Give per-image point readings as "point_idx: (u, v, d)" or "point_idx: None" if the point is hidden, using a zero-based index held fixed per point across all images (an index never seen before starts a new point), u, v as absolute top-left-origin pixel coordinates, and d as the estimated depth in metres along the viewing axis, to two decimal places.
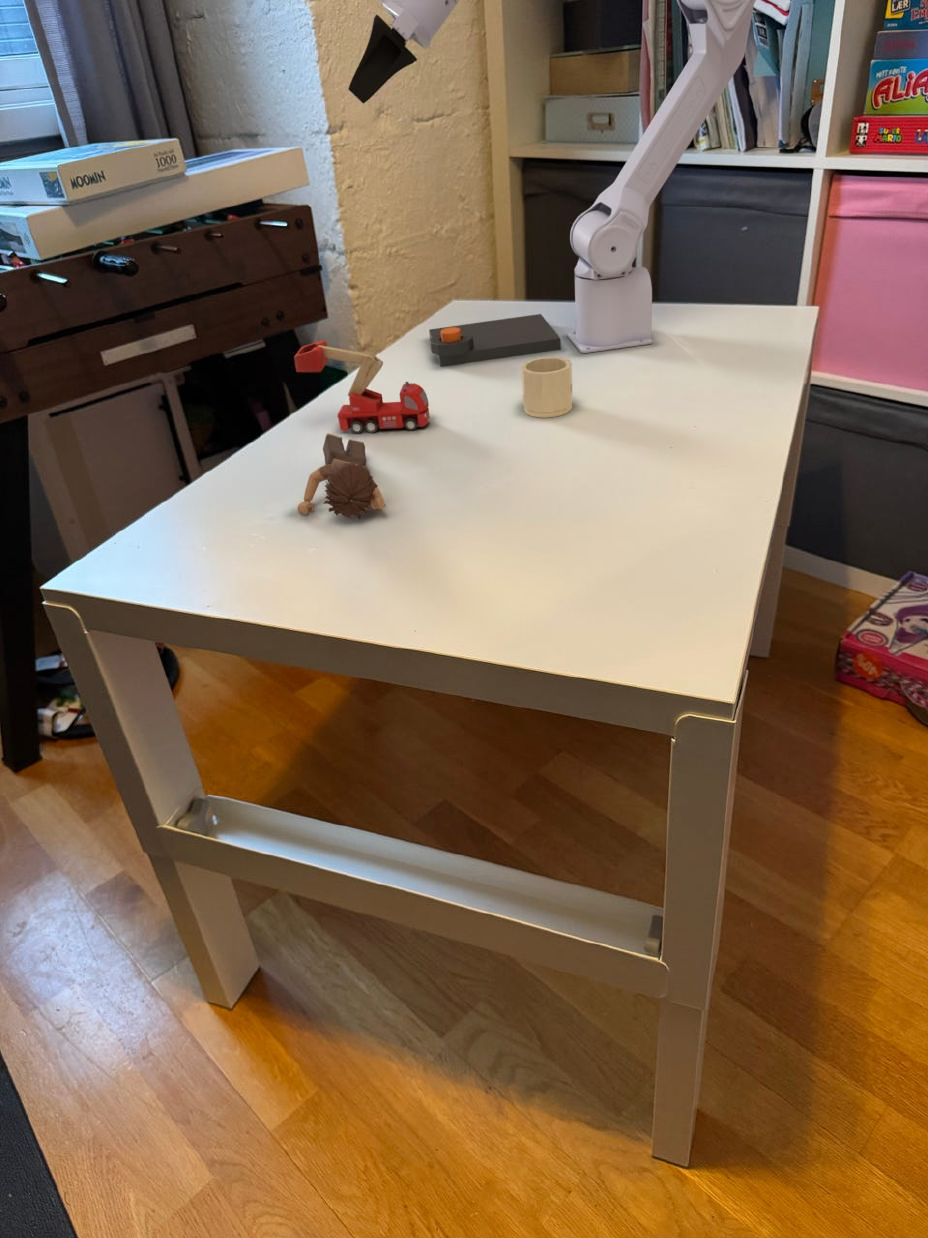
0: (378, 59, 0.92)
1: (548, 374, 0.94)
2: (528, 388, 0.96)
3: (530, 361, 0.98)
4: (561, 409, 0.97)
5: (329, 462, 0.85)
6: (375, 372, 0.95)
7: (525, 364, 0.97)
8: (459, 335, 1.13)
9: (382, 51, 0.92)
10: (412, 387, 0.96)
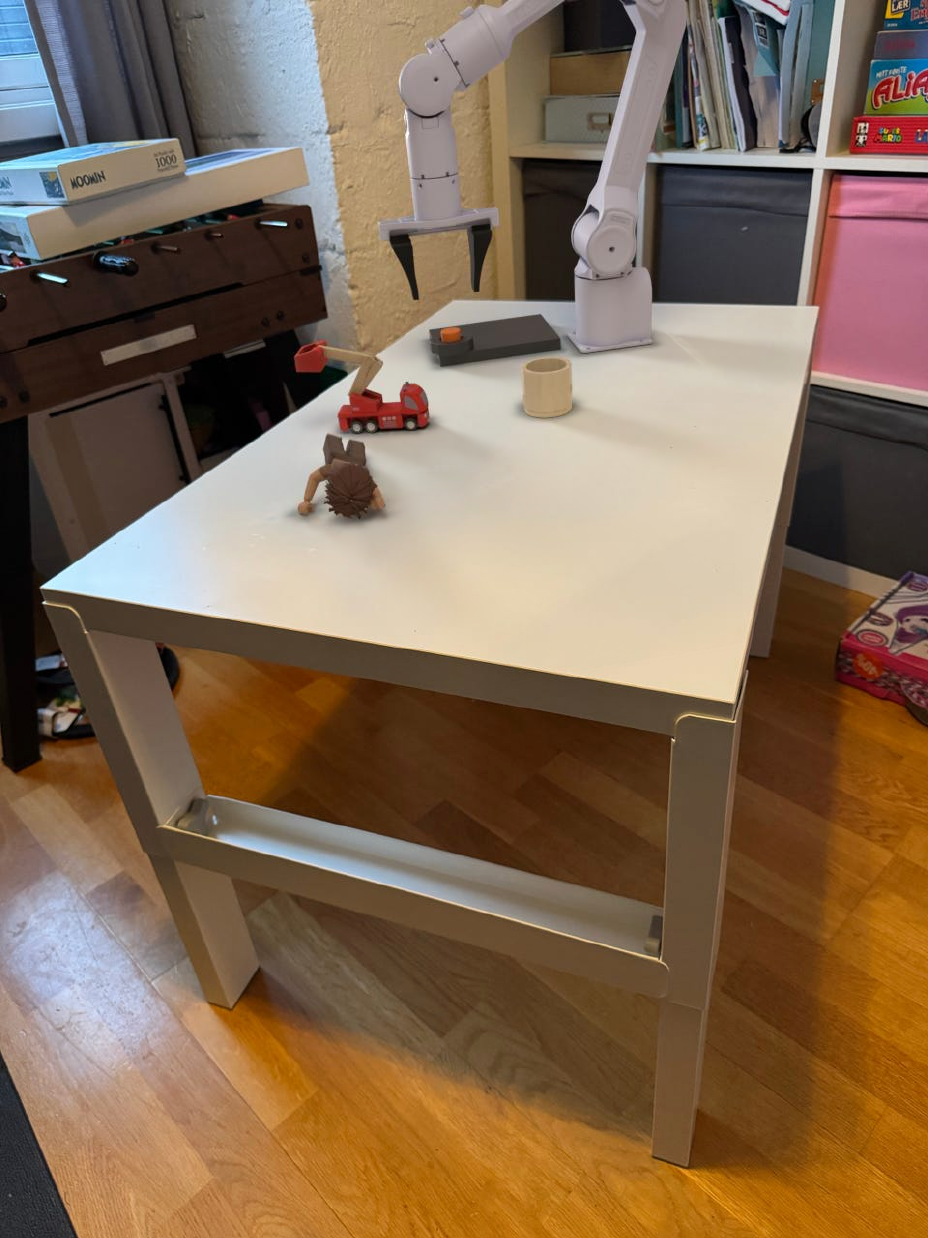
0: None
1: (548, 374, 0.94)
2: (528, 388, 0.96)
3: (530, 361, 0.98)
4: (561, 409, 0.97)
5: (329, 462, 0.85)
6: (375, 372, 0.95)
7: (525, 364, 0.97)
8: (459, 335, 1.13)
9: None
10: (412, 387, 0.96)
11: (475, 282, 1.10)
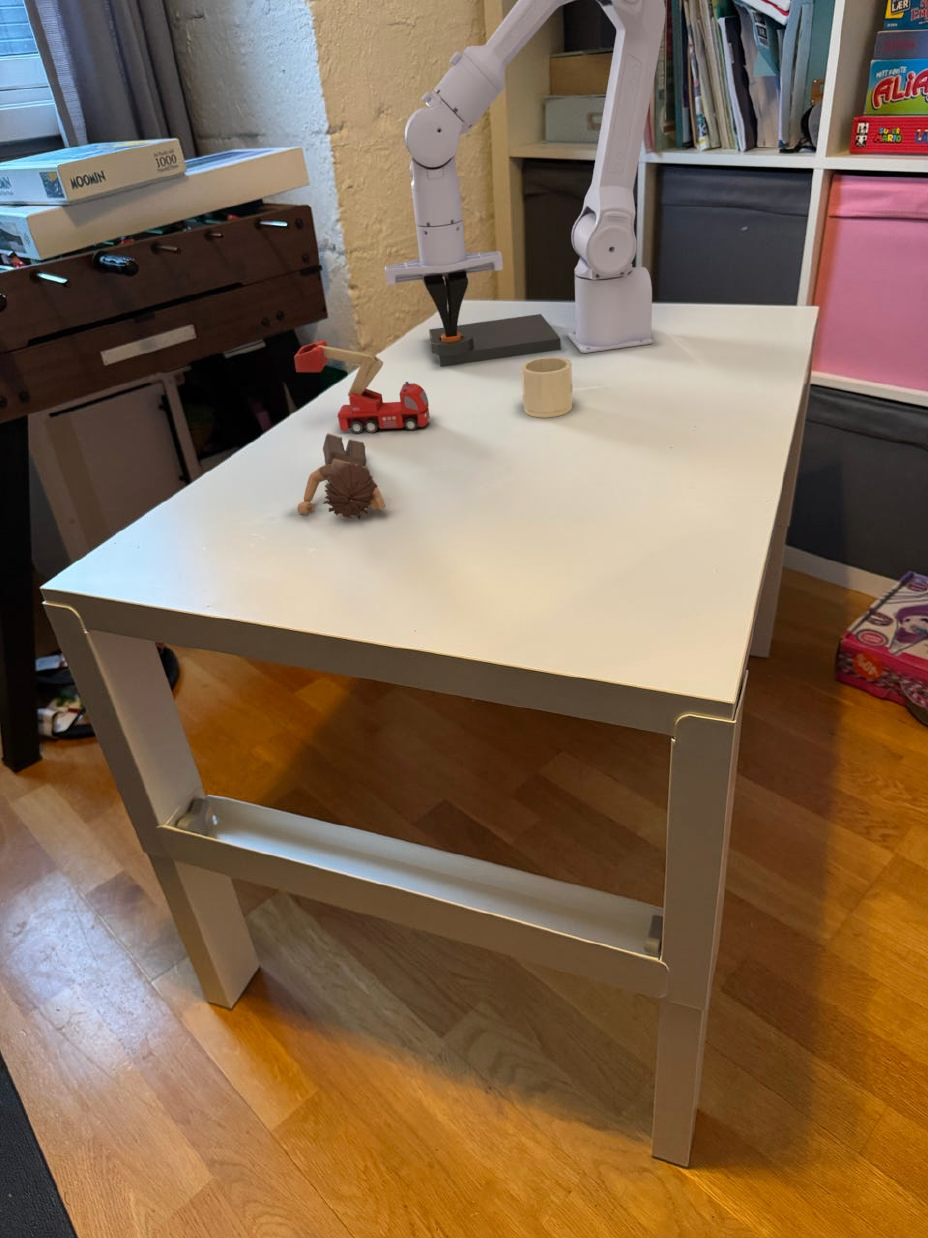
0: None
1: (548, 374, 0.94)
2: (528, 388, 0.96)
3: (530, 361, 0.98)
4: (561, 409, 0.97)
5: (329, 462, 0.85)
6: (375, 372, 0.95)
7: (525, 364, 0.97)
8: (459, 339, 1.14)
9: None
10: (412, 387, 0.96)
11: (452, 327, 1.12)
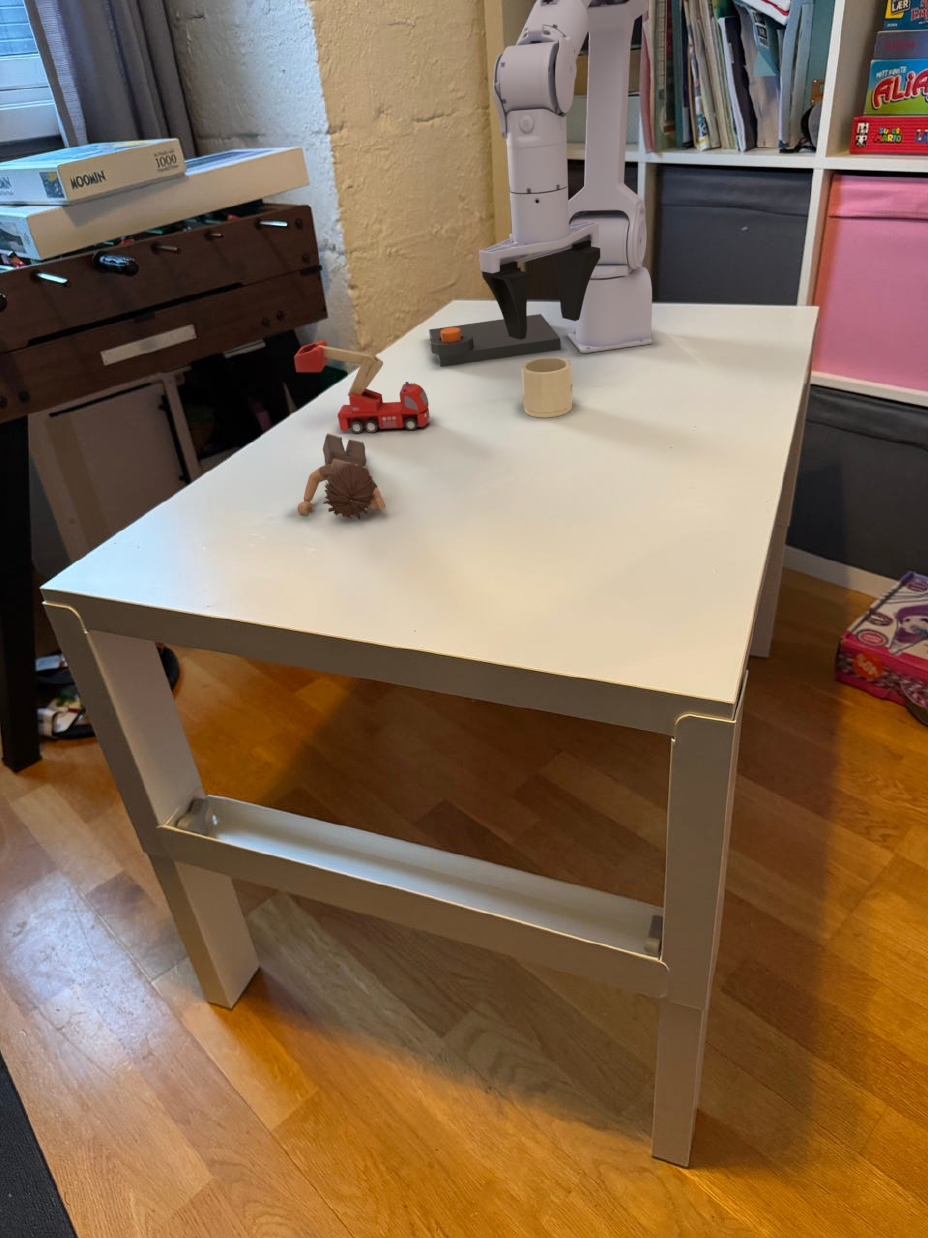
0: (509, 296, 0.90)
1: (548, 374, 0.94)
2: (528, 388, 0.96)
3: (530, 361, 0.98)
4: (561, 409, 0.97)
5: (329, 462, 0.85)
6: (375, 372, 0.95)
7: (525, 364, 0.97)
8: (459, 335, 1.13)
9: (508, 288, 0.89)
10: (412, 387, 0.96)
11: (578, 309, 0.94)
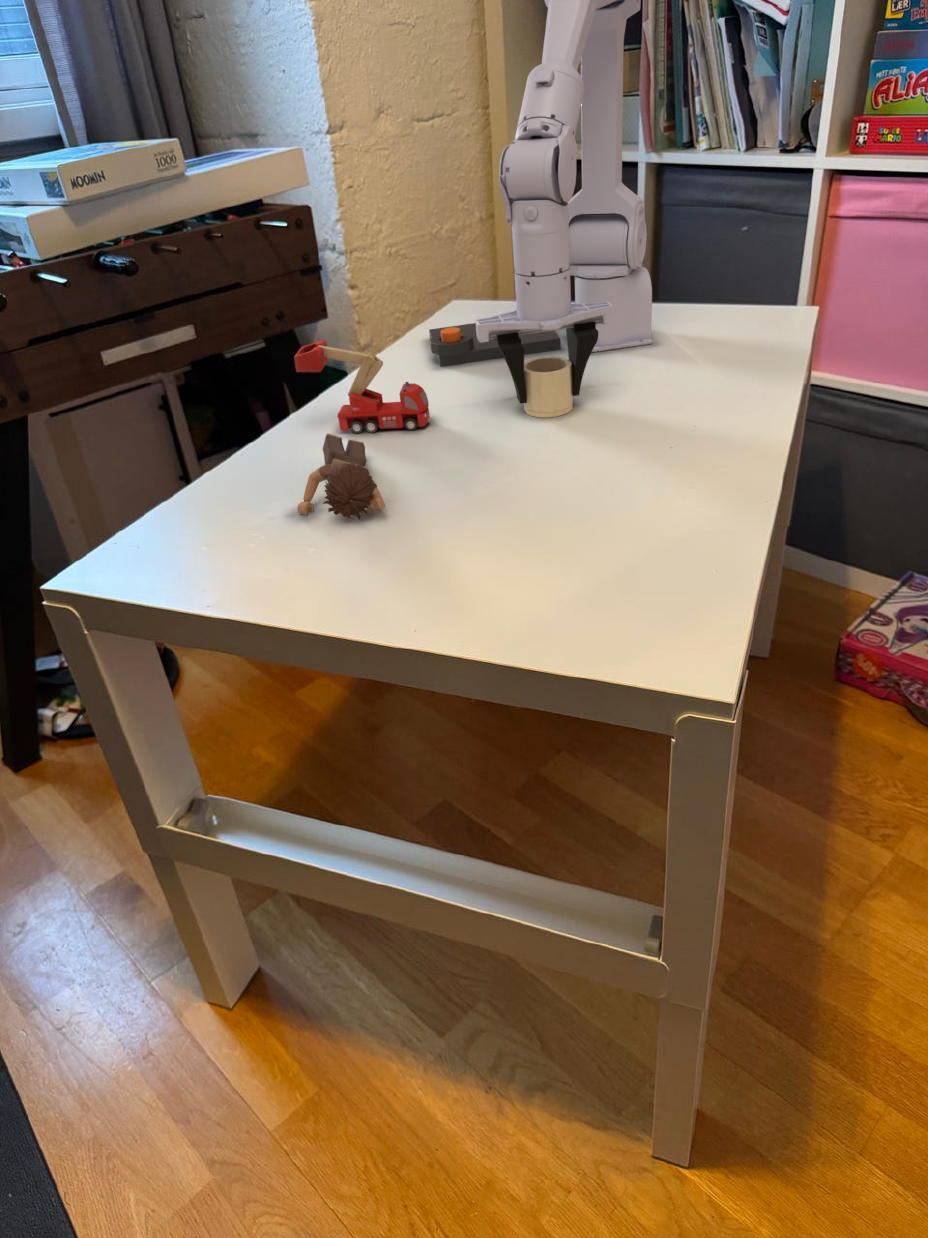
0: None
1: (548, 374, 0.94)
2: (528, 388, 0.96)
3: (530, 361, 0.98)
4: (561, 409, 0.97)
5: (329, 462, 0.85)
6: (375, 372, 0.95)
7: (525, 364, 0.97)
8: (459, 335, 1.13)
9: None
10: (412, 387, 0.96)
11: None
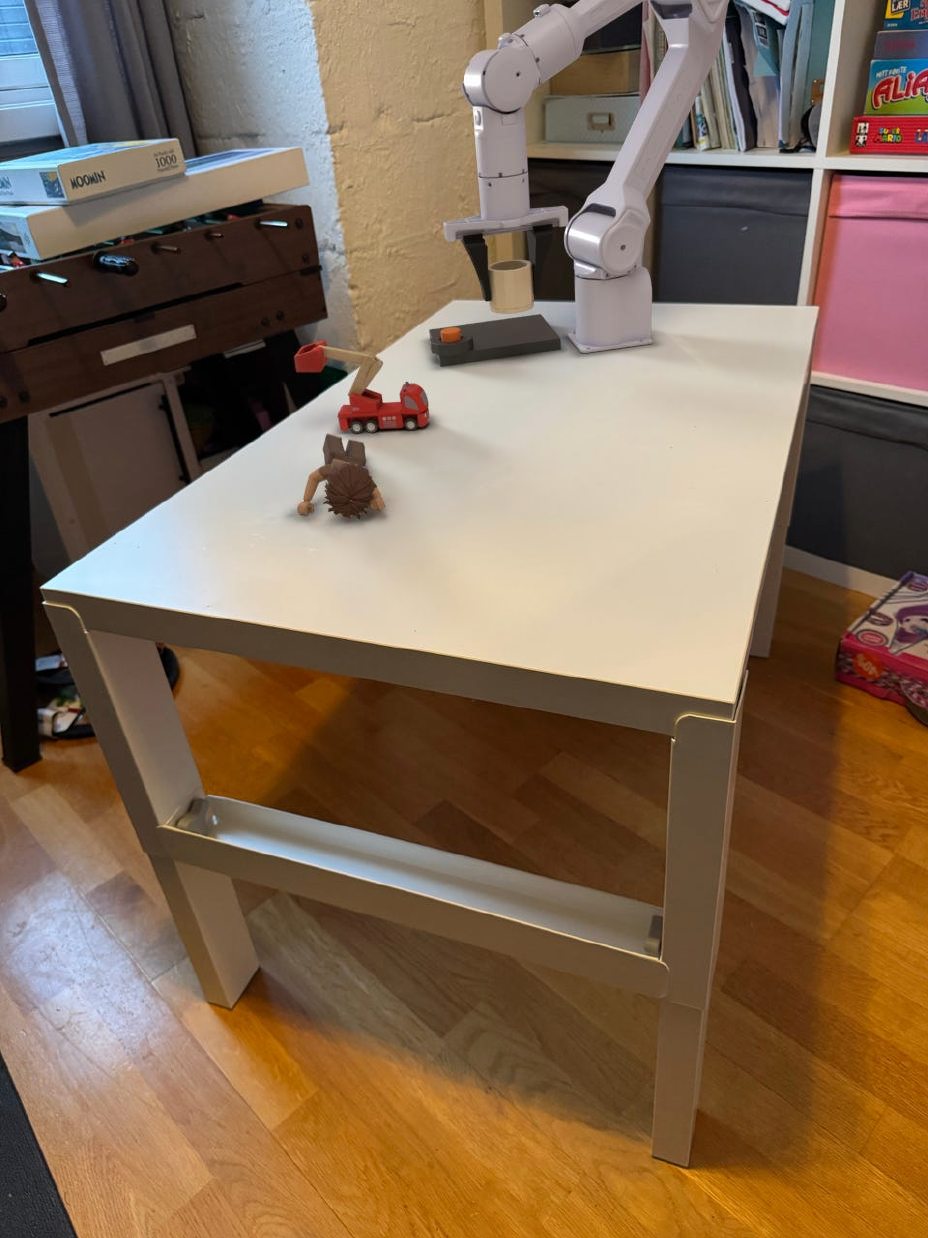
0: None
1: (510, 271, 1.04)
2: (493, 286, 1.06)
3: (495, 263, 1.08)
4: (523, 306, 1.06)
5: (329, 462, 0.85)
6: (375, 372, 0.95)
7: (490, 265, 1.07)
8: (459, 335, 1.13)
9: None
10: (412, 387, 0.96)
11: None
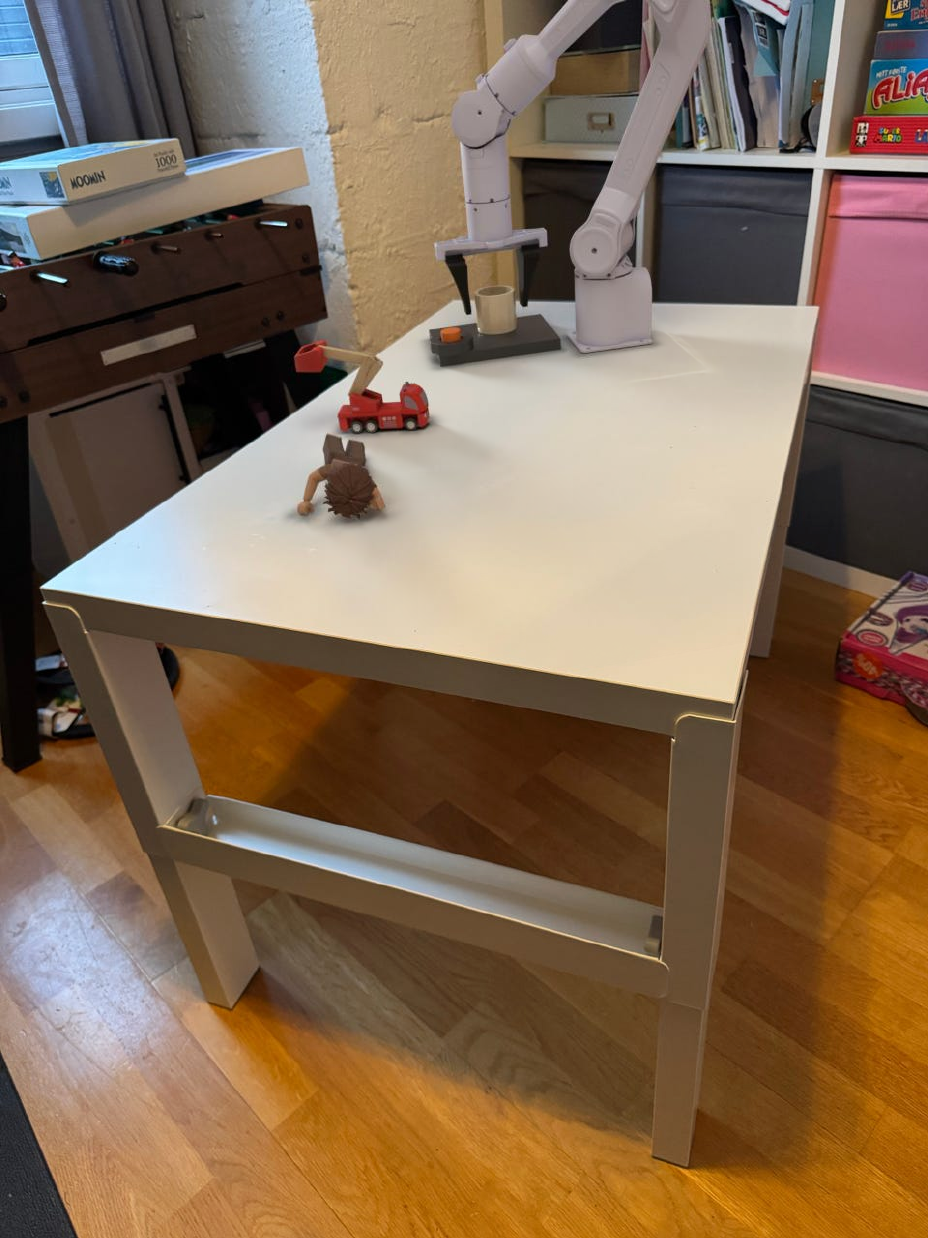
0: None
1: (495, 297, 1.16)
2: (479, 310, 1.17)
3: (482, 288, 1.19)
4: (506, 327, 1.18)
5: (329, 462, 0.85)
6: (375, 372, 0.95)
7: (477, 290, 1.18)
8: (459, 335, 1.13)
9: None
10: (412, 387, 0.96)
11: None
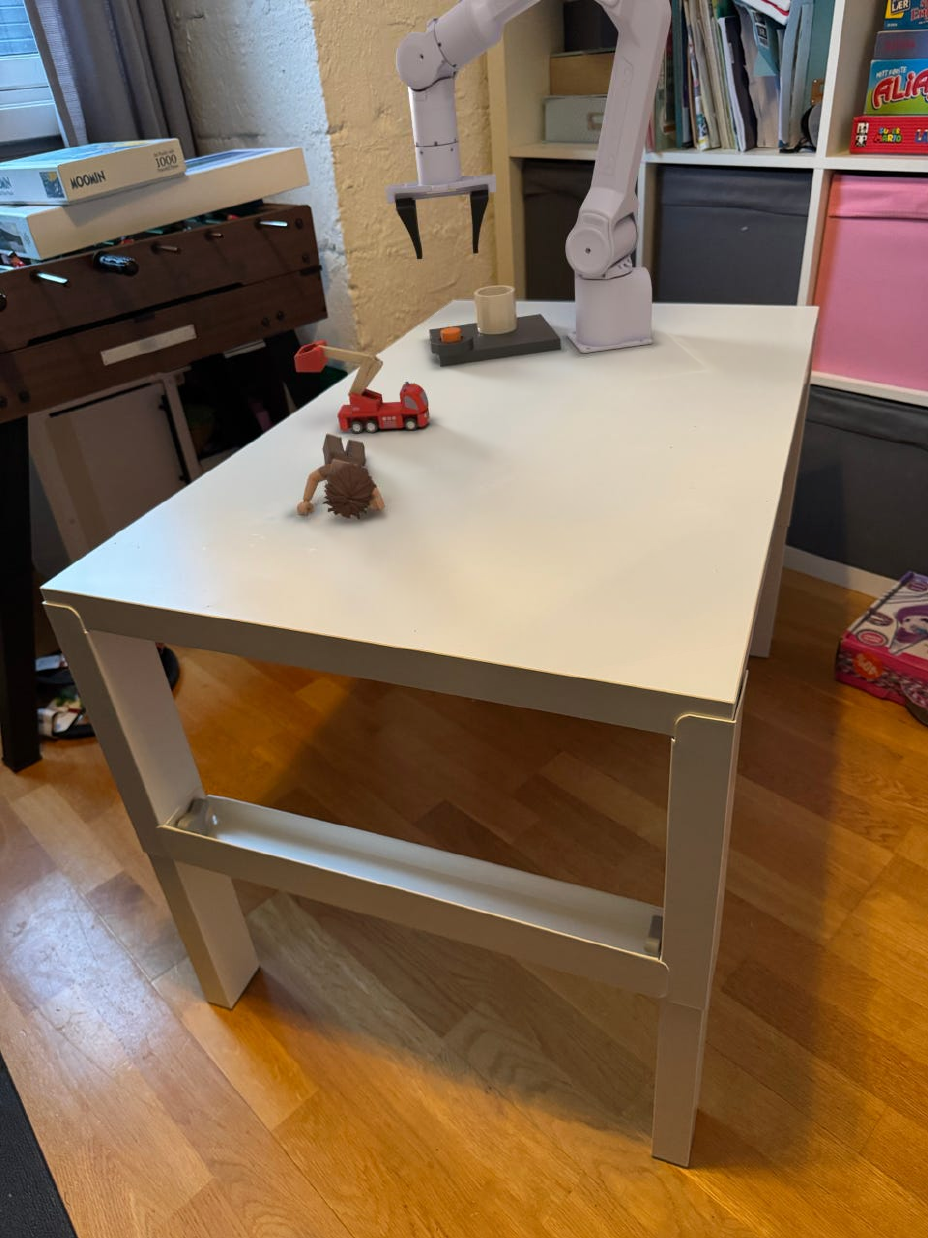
0: None
1: (495, 297, 1.16)
2: (479, 310, 1.17)
3: (482, 288, 1.19)
4: (506, 327, 1.18)
5: (328, 462, 0.85)
6: (375, 372, 0.95)
7: (477, 290, 1.18)
8: (459, 335, 1.13)
9: None
10: (412, 387, 0.96)
11: (420, 245, 1.21)
